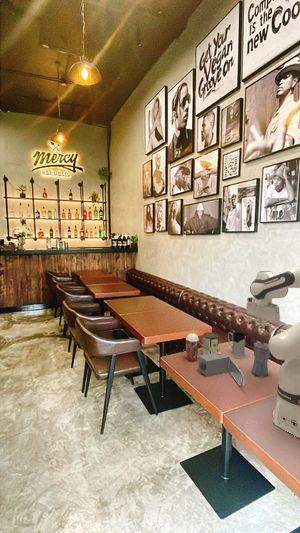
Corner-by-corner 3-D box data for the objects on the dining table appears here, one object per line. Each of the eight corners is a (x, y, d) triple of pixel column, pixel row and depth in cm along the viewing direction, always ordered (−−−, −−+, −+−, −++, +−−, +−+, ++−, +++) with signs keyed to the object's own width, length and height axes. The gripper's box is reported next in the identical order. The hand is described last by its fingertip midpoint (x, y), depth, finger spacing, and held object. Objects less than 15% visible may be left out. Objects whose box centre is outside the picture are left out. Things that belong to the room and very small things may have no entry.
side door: (232, 371, 161) (232, 358, 160) (246, 390, 140) (246, 375, 139) (229, 371, 161) (229, 358, 160) (242, 390, 140) (243, 375, 139)
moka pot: (259, 380, 152) (261, 345, 150) (244, 367, 167) (246, 335, 165) (274, 378, 154) (277, 344, 152) (258, 366, 169) (260, 334, 167)
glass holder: (238, 359, 178) (239, 337, 176) (222, 351, 190) (223, 330, 189) (247, 357, 182) (249, 335, 180) (231, 349, 194) (233, 329, 193)
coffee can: (207, 351, 191) (208, 331, 189) (220, 355, 184) (221, 335, 182) (199, 355, 183) (199, 334, 182) (212, 360, 176) (213, 338, 175)
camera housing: (228, 371, 161) (229, 355, 160) (204, 376, 154) (205, 360, 153) (220, 365, 168) (220, 350, 168) (196, 370, 161) (197, 354, 160)
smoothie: (198, 363, 172) (199, 331, 170) (184, 361, 173) (185, 330, 171) (198, 357, 180) (199, 327, 178) (185, 356, 181) (186, 326, 179)
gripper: (283, 304, 138) (281, 331, 140) (253, 296, 157) (251, 320, 158) (274, 305, 136) (272, 332, 137) (244, 297, 154) (243, 321, 156)
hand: (261, 326), depth 148 cm, fingers closed
